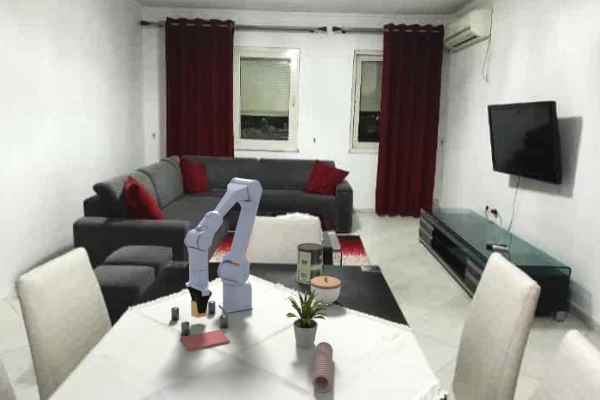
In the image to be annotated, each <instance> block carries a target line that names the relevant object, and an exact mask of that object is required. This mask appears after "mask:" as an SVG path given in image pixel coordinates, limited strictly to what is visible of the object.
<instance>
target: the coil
mask: <svg viewBox="0 0 600 400" xmlns="http://www.w3.org/2000/svg"><path fill="white" fill-rule="evenodd" d="M333 352H334V349H333V346H332V344H330V343H329V342H326V341H322V342H319V343H318V344H317V345H316V346H315V353H314V361H313V368H312V370H313V371H312V379H311V384H312V386H313V388H314V389H315V390H317V391H316V392H317V393H318V394H319V393H322V394H323V393H327V392H328V391H330V390H331V387H332V383H333V382H332V376H333V374H332V373H333V356H334V355H333V354H334V353H333Z"/></svg>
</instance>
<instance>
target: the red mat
mask: <svg viewBox="0 0 600 400" xmlns="http://www.w3.org/2000/svg"><path fill="white" fill-rule="evenodd" d="M180 340H181V341H182V343H183V345H184V347H185V349H187V351H188V352H192V351H196V350H201V349H206V348H211V347H215V346H219V345H224V344H229V343H230V342H231V341H230V340H231V339H229V338H228V337H227V335H226V334H225V333H224V331H223V330H222V328H220V329H215V330H212V331H205V332H200V333H196V334H191V335H188V336H181V337H180Z"/></svg>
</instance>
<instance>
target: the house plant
mask: <svg viewBox="0 0 600 400" xmlns="http://www.w3.org/2000/svg"><path fill="white" fill-rule="evenodd" d="M315 291H316V289H315V290H314V291H312V293H310V295H309V297H308V295H307V294H308V289H307V288H306V289H305V292H304V298H303V296H302V294H301V293H300V292H299V291H297V294H298V297H299V298H298V297H297V295H295V296H296V298H297V299H298V302H299V303H300V306H299V305H298V302H296V300H295V299H294V298H293V296H294V294H293V293H292V294H291V295H292V296H290V295H288V296H287V298H285V300H287V301H288V302H290V303H291V307H292V308H294V310H296V312H297V313H298V315H299V317H300V318H299V317H298V316H297V315H296V314H294V313H293V312H288V313H287V314H285V317H287V318H286V319H288V318H297V319H295V320H294V321H293V322H292V323H293V324H292V325H293V330H294V339H295V344H296V346H297V347H299V348H304V349H307V348H308V349H309V348H311V347H313V346H314V345H315V340H316V335H317V331H318V326H319V324H318V322H317V321H316V319H321V320H326V318H325V317H324V316H326V317H327V318H328V317H329V316H328V314H327V313H325V312H320V311H324V310H329V311H332V309H330V308H327V307H322V306H326V305H325V304H319V303H320V302H321V301H322V300H324V299H325V298H327V297H325V298H322V299H321V300H320V301H318V302H316V303H315V304H314V305H313V301H314V300H315V299H314V298H315V297H316V296H317V294H316V295H315V296H314V293H315ZM307 297H308V298H307Z"/></svg>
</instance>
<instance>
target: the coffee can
mask: <svg viewBox="0 0 600 400" xmlns="http://www.w3.org/2000/svg"><path fill="white" fill-rule="evenodd" d="M296 248H297V252H296V256H297V257H296V281H297V283H300V284H302V283H303V285H311V279H312V278H315V277H319V276H323V252H324V251H323V250H324V246H323V245H321V244H319V243H314V242H305V243H299V244H297V246H296Z"/></svg>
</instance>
